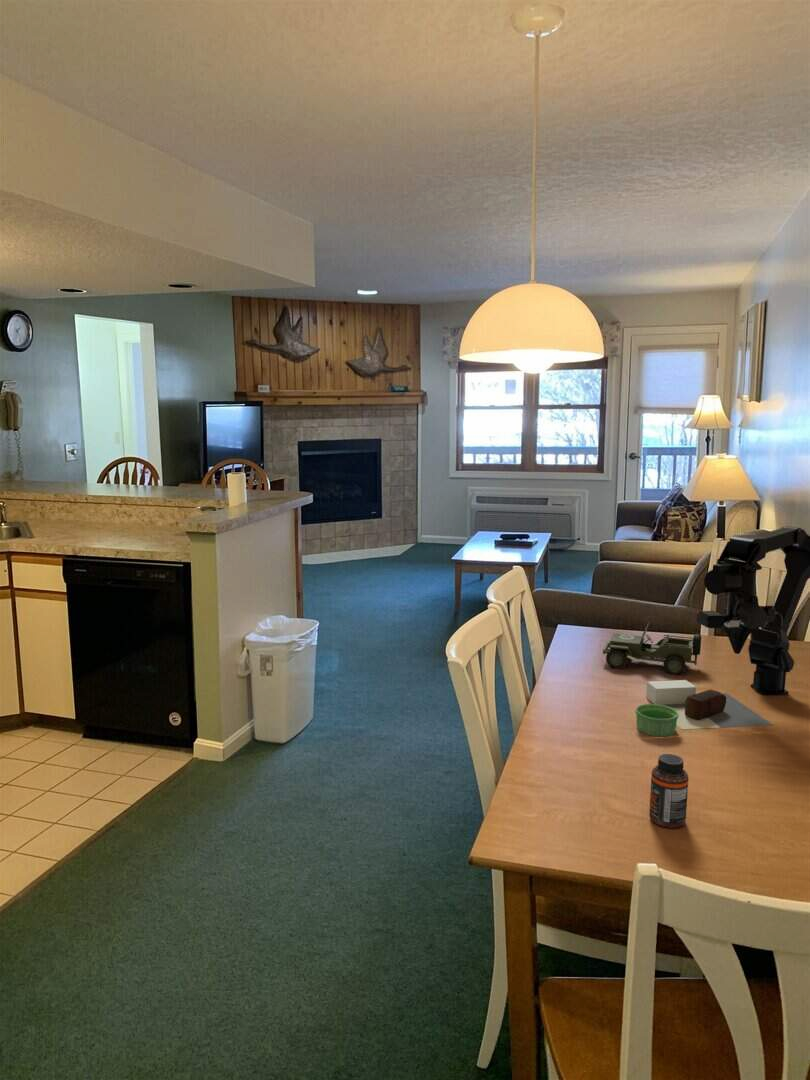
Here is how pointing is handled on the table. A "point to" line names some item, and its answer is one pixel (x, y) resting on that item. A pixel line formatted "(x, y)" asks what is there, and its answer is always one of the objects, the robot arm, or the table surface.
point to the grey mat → (721, 717)
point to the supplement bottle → (669, 792)
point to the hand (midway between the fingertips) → (736, 653)
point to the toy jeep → (653, 651)
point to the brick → (704, 704)
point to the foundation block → (669, 691)
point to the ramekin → (656, 719)
